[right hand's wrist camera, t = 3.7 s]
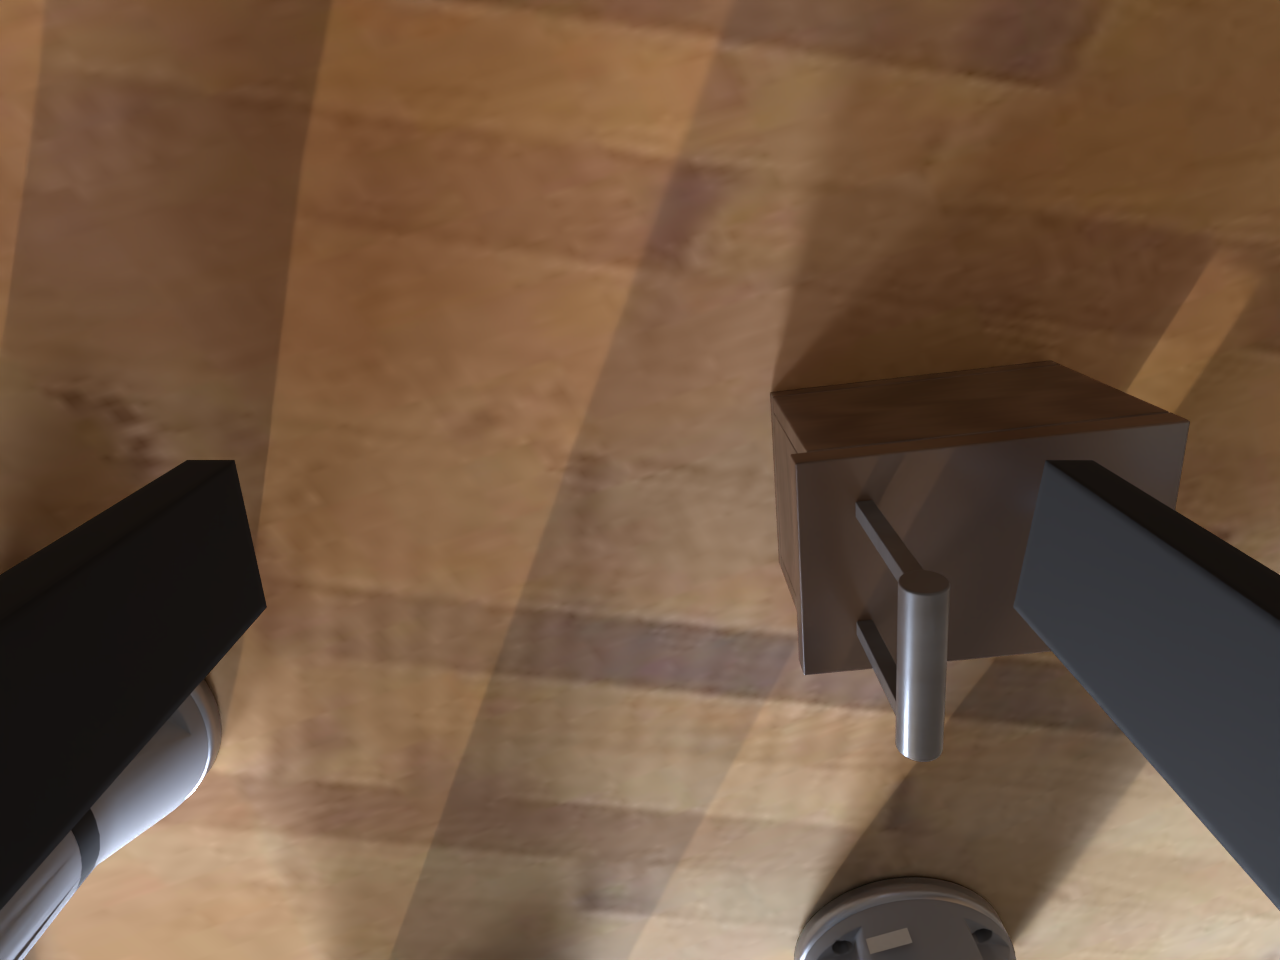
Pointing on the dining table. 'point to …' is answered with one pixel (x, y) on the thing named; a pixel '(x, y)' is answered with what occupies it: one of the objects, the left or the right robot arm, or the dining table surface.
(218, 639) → the right robot arm
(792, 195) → the dining table surface
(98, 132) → the dining table surface
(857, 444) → the chest
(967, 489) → the lid
